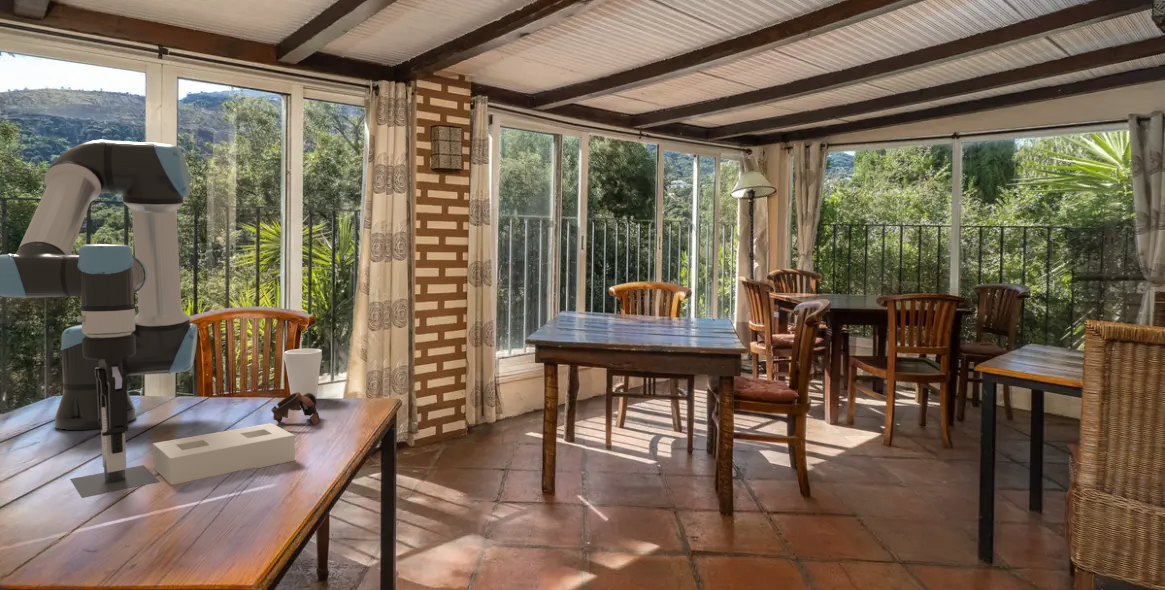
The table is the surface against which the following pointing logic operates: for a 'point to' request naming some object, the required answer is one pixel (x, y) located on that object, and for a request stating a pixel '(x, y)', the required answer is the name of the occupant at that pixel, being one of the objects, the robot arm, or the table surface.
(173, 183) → the robot arm
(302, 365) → the foam cup
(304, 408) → the brown arched piece
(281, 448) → the hole block
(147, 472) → the mat
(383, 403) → the table surface
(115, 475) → the peg
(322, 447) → the table surface
